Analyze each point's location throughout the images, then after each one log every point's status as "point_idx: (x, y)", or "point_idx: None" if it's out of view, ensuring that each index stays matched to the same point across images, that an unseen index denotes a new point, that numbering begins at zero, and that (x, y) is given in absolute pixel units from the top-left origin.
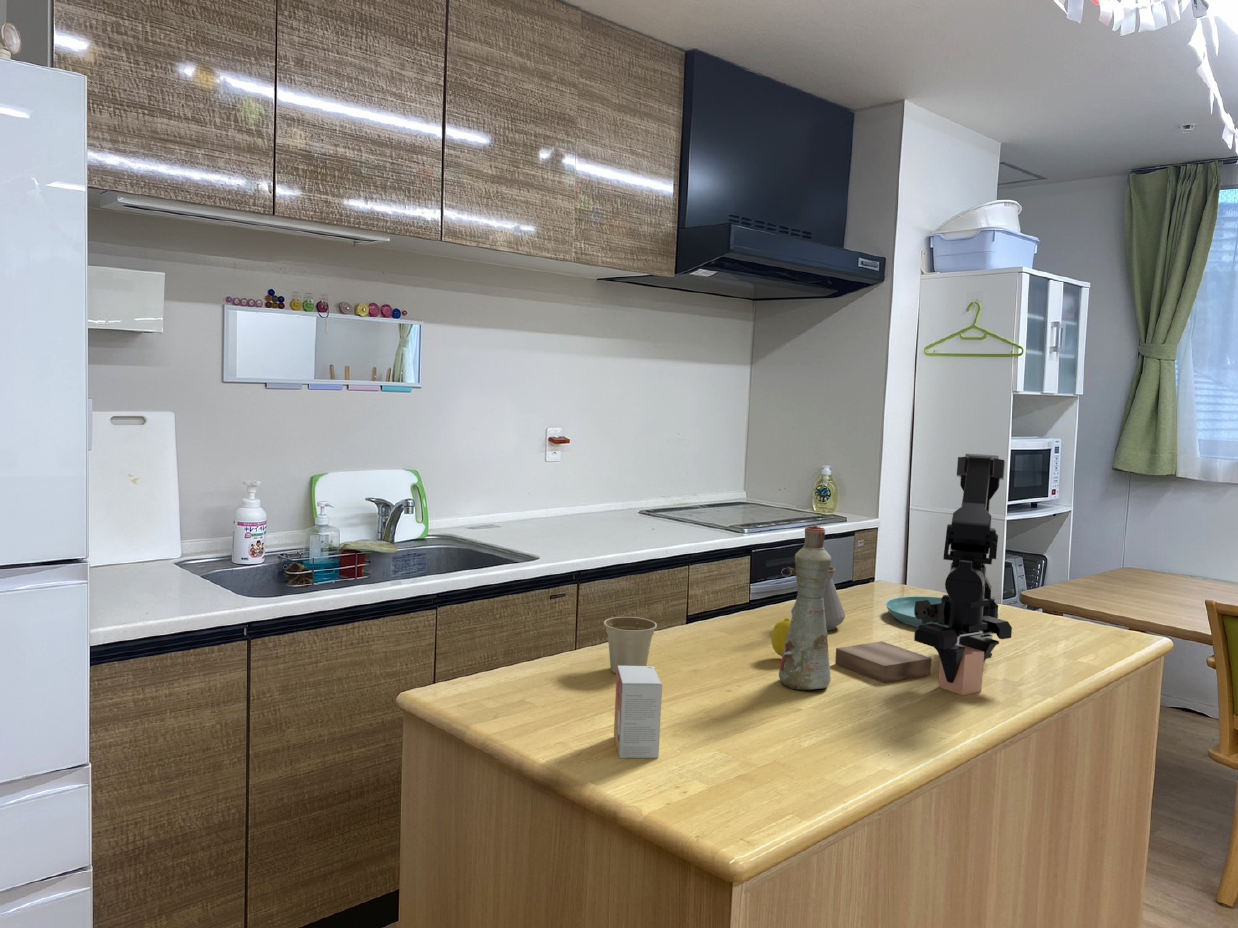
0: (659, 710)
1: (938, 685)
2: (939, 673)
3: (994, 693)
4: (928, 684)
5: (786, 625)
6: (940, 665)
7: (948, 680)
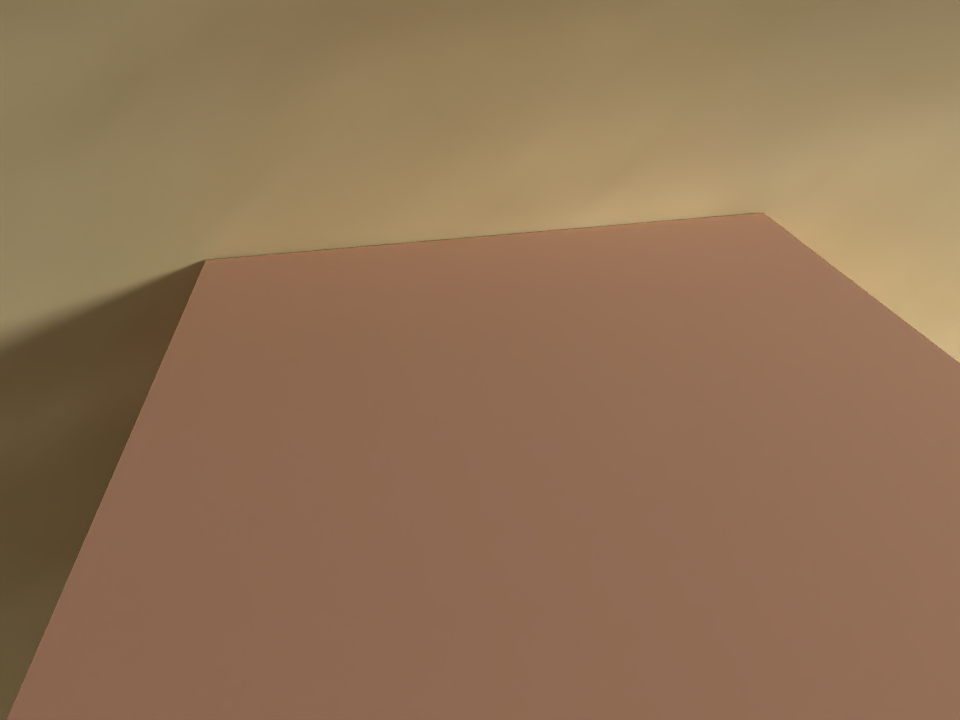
0: None
1: (201, 270)
2: (150, 397)
3: None
4: (82, 77)
5: None
6: (94, 554)
7: None
